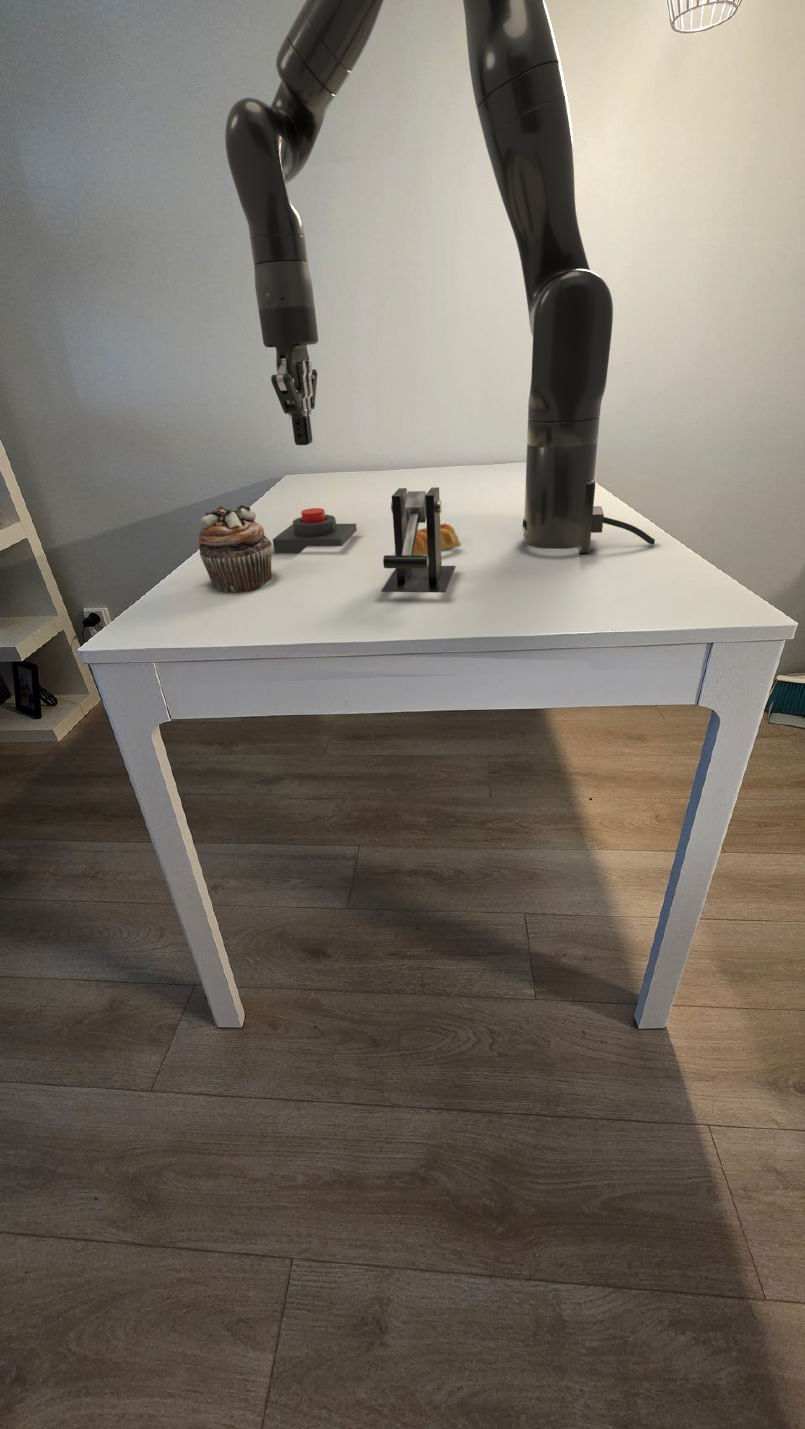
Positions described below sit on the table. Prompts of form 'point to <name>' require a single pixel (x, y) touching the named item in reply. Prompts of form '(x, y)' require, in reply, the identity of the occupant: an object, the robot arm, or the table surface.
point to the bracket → (435, 574)
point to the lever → (410, 534)
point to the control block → (312, 535)
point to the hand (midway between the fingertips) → (304, 444)
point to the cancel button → (313, 515)
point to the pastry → (447, 539)
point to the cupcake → (235, 550)
